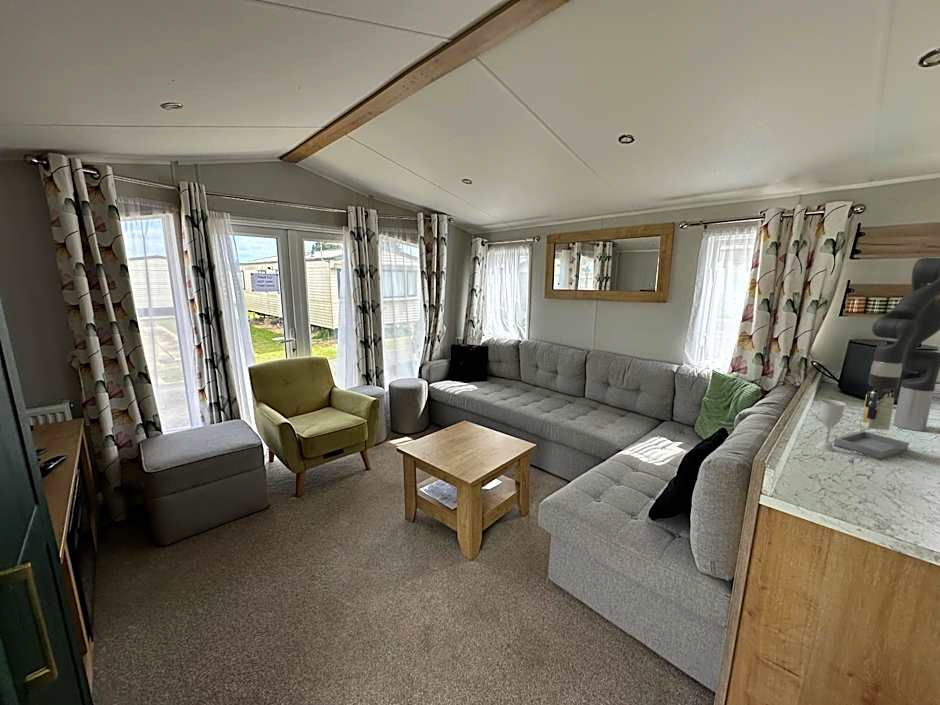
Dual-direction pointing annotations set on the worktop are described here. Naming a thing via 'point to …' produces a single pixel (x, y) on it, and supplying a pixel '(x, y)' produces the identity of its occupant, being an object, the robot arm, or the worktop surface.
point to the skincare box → (879, 415)
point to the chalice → (830, 420)
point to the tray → (871, 444)
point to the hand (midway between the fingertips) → (876, 417)
